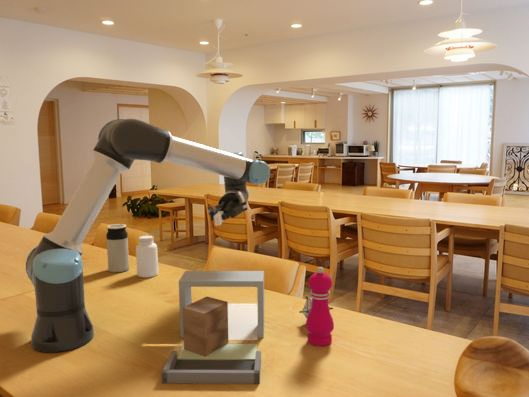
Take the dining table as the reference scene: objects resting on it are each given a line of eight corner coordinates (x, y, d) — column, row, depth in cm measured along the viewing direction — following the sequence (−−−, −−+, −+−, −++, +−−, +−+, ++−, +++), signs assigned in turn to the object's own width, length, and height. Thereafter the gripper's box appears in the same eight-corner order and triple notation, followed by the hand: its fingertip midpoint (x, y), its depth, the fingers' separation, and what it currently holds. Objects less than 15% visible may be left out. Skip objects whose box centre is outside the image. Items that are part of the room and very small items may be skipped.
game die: (321, 338, 132) (331, 319, 125) (293, 325, 133) (301, 306, 127) (329, 313, 139) (339, 294, 132) (302, 301, 140) (311, 282, 133)
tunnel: (196, 305, 148) (194, 256, 145) (265, 305, 147) (265, 256, 145) (179, 341, 122) (177, 283, 120) (263, 342, 121) (262, 283, 119)
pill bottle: (132, 276, 177) (130, 238, 175) (145, 270, 185) (144, 233, 182) (150, 279, 174) (148, 239, 172) (162, 273, 182) (161, 235, 180)
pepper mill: (315, 349, 117) (316, 272, 114) (300, 338, 124) (300, 265, 121) (339, 343, 120) (340, 268, 118) (323, 332, 127) (324, 261, 124)
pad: (186, 338, 124) (186, 336, 124) (257, 338, 123) (257, 337, 123) (177, 360, 112) (177, 358, 112) (256, 361, 112) (255, 359, 111)
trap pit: (172, 360, 112) (171, 350, 112) (261, 360, 112) (260, 351, 111) (162, 383, 102) (161, 372, 102) (259, 383, 101) (259, 373, 101)
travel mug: (133, 269, 187) (131, 225, 185) (117, 274, 181) (115, 228, 178) (120, 266, 192) (117, 223, 189) (104, 270, 185) (101, 226, 182)
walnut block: (207, 335, 124) (206, 296, 122) (228, 342, 120) (227, 301, 118) (184, 349, 117) (182, 307, 115) (205, 356, 113) (204, 313, 111)
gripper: (252, 211, 154) (241, 230, 131) (214, 216, 155) (197, 236, 133) (249, 189, 152) (237, 205, 129) (210, 194, 154) (192, 211, 131)
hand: (216, 221), depth 131 cm, fingers closed
